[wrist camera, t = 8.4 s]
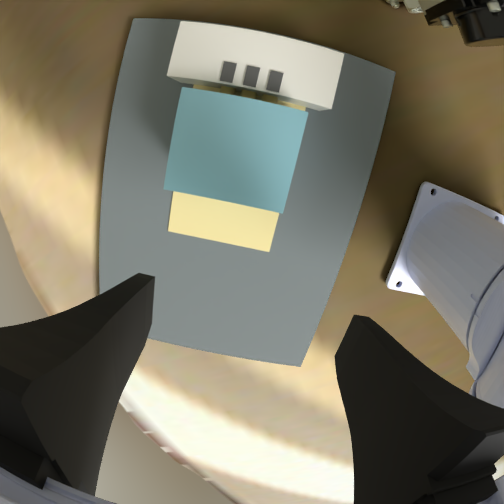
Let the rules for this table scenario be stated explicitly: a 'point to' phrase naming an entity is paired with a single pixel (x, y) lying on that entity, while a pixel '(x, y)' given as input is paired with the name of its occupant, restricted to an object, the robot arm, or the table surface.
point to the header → (255, 64)
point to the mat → (233, 212)
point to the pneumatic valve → (463, 18)
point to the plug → (234, 149)
